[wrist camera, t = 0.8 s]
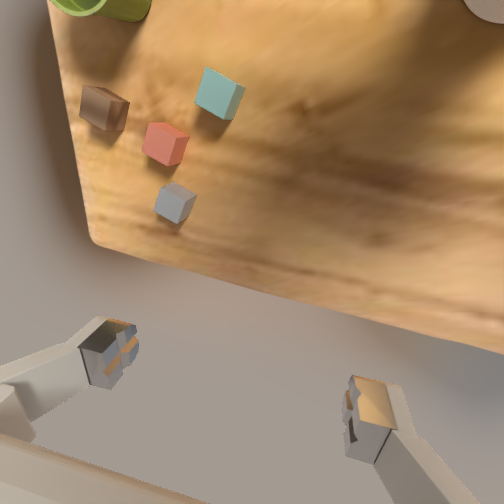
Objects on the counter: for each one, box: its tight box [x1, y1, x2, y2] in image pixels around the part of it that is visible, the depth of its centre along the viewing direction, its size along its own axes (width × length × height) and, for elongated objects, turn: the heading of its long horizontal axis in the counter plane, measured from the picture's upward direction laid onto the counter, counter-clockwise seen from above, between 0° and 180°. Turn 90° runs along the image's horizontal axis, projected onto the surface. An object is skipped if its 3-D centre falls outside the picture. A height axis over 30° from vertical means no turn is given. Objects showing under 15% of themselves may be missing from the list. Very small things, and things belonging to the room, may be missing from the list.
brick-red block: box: [142, 122, 189, 167], centre depth 47 cm, size 5×5×5 cm
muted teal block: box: [194, 67, 245, 120], centre depth 41 cm, size 5×5×5 cm
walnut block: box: [79, 85, 130, 131], centre depth 46 cm, size 5×5×5 cm
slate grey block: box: [154, 182, 197, 224], centre depth 51 cm, size 5×5×5 cm
